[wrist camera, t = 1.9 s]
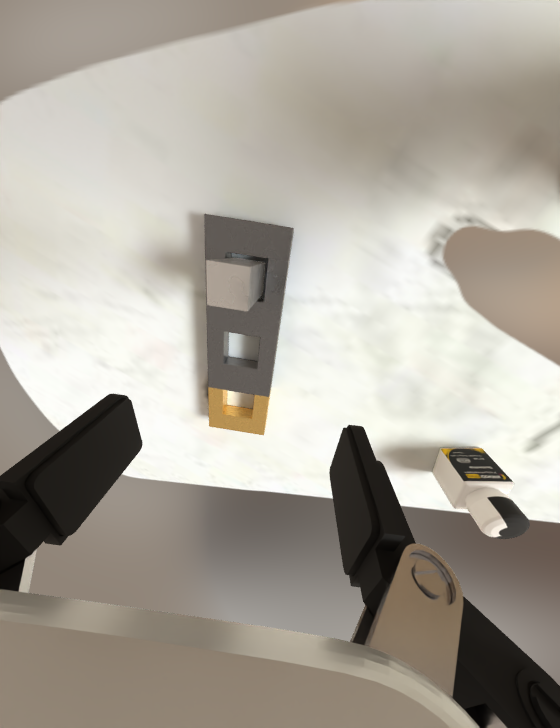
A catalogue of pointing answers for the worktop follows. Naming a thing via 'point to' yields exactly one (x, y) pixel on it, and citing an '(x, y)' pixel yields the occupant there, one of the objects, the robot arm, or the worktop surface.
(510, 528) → the medicine bottle
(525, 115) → the worktop surface
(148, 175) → the worktop surface
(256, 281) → the steel peg
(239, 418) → the rail
